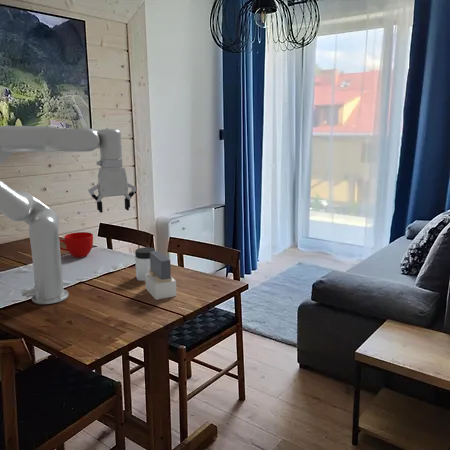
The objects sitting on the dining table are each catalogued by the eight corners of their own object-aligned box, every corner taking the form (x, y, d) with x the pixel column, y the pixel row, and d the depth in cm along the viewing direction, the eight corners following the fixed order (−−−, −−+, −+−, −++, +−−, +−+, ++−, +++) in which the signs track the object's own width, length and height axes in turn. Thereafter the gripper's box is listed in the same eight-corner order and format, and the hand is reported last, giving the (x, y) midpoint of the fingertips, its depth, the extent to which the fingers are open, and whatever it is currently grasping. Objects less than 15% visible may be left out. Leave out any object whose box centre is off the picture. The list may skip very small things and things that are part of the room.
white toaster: (155, 299, 163) (155, 280, 161) (145, 288, 173) (145, 270, 171) (176, 296, 166) (175, 276, 165) (165, 285, 177) (164, 267, 175)
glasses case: (161, 279, 162) (161, 261, 160) (150, 269, 173) (149, 252, 171) (170, 278, 163) (170, 260, 162) (158, 268, 174) (158, 250, 173)
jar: (135, 275, 188) (133, 247, 186) (154, 273, 191) (153, 246, 188) (137, 282, 180) (136, 253, 177) (157, 280, 182) (156, 252, 180)
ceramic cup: (56, 254, 216) (54, 234, 214) (91, 250, 223) (90, 231, 221) (58, 262, 205) (56, 241, 202) (96, 257, 212) (94, 237, 209)
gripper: (88, 166, 153) (92, 214, 157) (138, 164, 161) (139, 210, 165) (84, 164, 159) (87, 211, 163) (132, 162, 167) (134, 207, 171)
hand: (114, 210), depth 164 cm, fingers open, 9 cm apart
